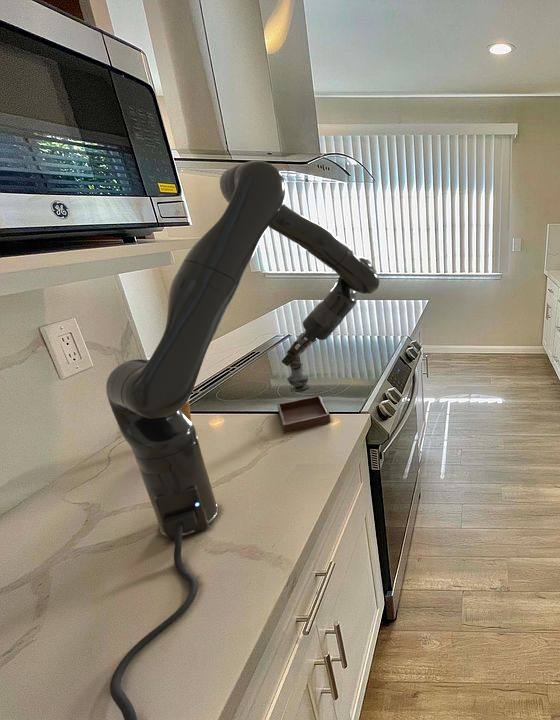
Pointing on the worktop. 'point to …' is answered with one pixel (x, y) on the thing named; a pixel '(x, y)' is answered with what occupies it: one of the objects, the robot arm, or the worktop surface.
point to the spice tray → (303, 414)
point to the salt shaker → (298, 376)
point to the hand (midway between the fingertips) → (287, 361)
